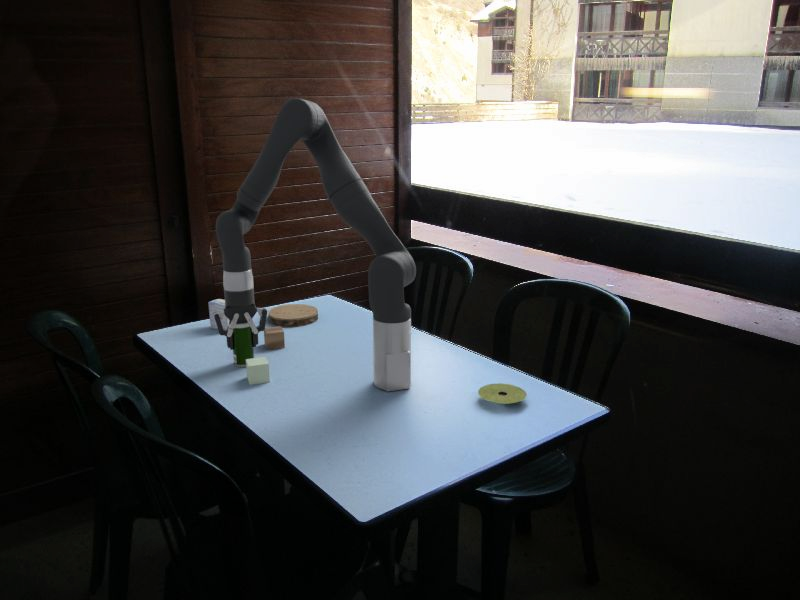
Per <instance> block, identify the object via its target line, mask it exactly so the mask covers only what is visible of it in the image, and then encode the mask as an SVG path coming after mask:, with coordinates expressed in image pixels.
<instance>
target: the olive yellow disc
mask: <svg viewBox="0 0 800 600" xmlns="http://www.w3.org/2000/svg"><path fill="white" fill-rule="evenodd" d="M477 393H478V396H479V397H480V398H481V399H483V400H485V401H488V402H492V403H494V404H495V403H496V404H503V405H505V404H516V403H519V402H522V401H524V400H525V399H526V398H527V396H528V395H527V392H526V390H524V389H522V388H521V387H519V386H516V385H513V384H509V383H508V384H507V383H501V382H500V383H490V384H489V383H488V384H486V385H483V386H481V387H480V388H479V389H478V391H477Z"/></svg>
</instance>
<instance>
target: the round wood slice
mask: <svg viewBox="0 0 800 600" xmlns="http://www.w3.org/2000/svg"><path fill="white" fill-rule="evenodd" d="M318 312H319V310H318V308H317V307H316V306H312V305H309V304H303V303H299V304H298V303H292V304H291V303H290V304H284V305H283V304H281V305H277V306H275V307H273V308H271V309H270V310H267V317H268V322H269V323H270V324H271V325H273V326H275V327H279V326H281V327H282V328H288V327H289V328H293V327H294V328H296V327H304V326H308V325H312V324H313V323H315V322H317V321H318V320H319V313H318Z"/></svg>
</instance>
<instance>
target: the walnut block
mask: <svg viewBox="0 0 800 600" xmlns="http://www.w3.org/2000/svg"><path fill="white" fill-rule="evenodd" d="M263 338H264V340H263V342H264V346H265V349H266V351H269V350H278V349H285V348H286V345H285V331H284V329H283V327H281V326H272V327H270V326H269V327H265V330H264V331H263Z"/></svg>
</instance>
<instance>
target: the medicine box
mask: <svg viewBox="0 0 800 600" xmlns="http://www.w3.org/2000/svg"><path fill="white" fill-rule="evenodd" d="M224 309H225V299H222V298H217V299H213V300H211V301H208V313H209V324H210V328H211V329H215V330H218V327H217V324H216V321H215V317H214V312H222V311H224ZM228 323H229V319H228V318H227V317H226V316H225V315H224V316H223V320H222V321H221V324H222V327H223V329H224V330H227V327H228Z"/></svg>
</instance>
